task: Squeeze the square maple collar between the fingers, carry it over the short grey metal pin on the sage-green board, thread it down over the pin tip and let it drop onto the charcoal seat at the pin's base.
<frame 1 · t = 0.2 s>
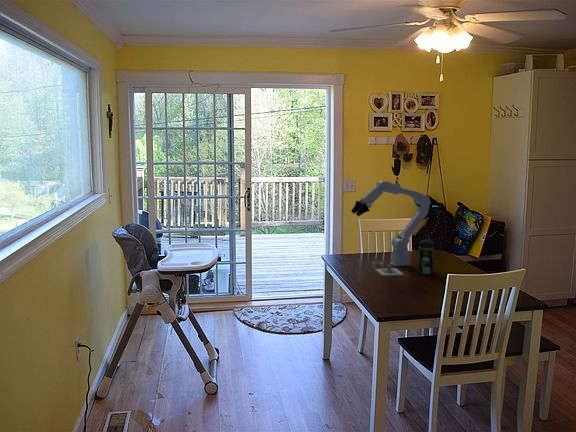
hand: (354, 213, 292), 31 cm above the table, tool tilted 45°, fingers open, 7 cm apart
pin board: (389, 273, 282), on the table
collar: (377, 267, 293), on the table
coffee jar: (425, 273, 283), on the table
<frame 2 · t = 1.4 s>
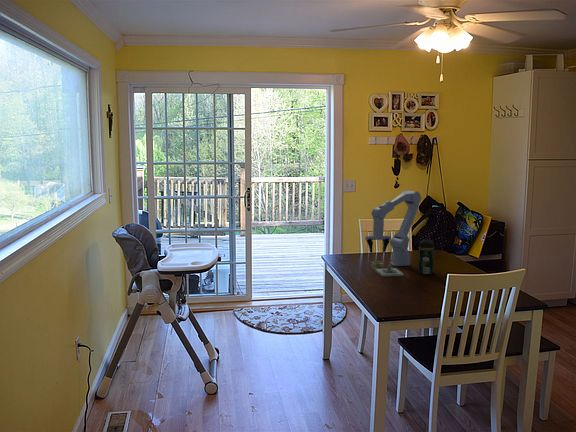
hand: (377, 252, 291), 9 cm above the table, tool pointing down, fingers open, 7 cm apart
nothing on the table moved.
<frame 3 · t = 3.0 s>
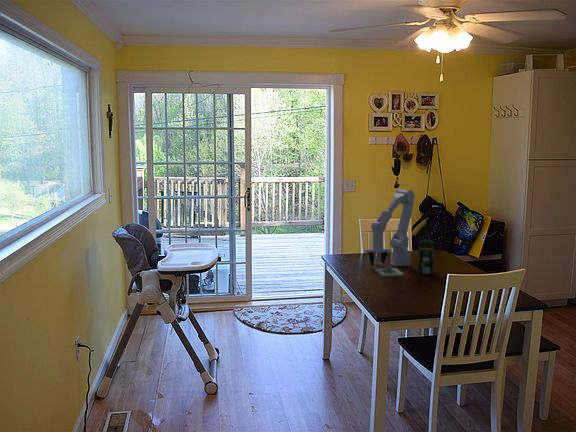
hand: (377, 265, 293), 1 cm above the table, tool pointing down, fingers closed on collar, 5 cm apart
collar: (377, 267, 293), on the table, touching gripper
everything else where it was.
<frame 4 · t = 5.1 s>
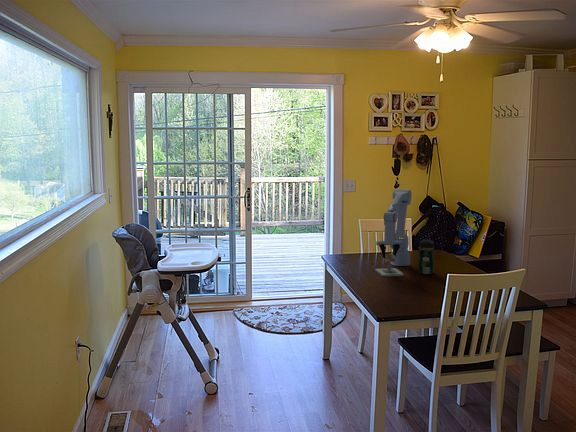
hand: (388, 257, 281), 8 cm above the table, tool pointing down, fingers closed on collar, 5 cm apart
collar: (388, 260, 281), point 7 cm above the table, touching gripper
everything else where it was.
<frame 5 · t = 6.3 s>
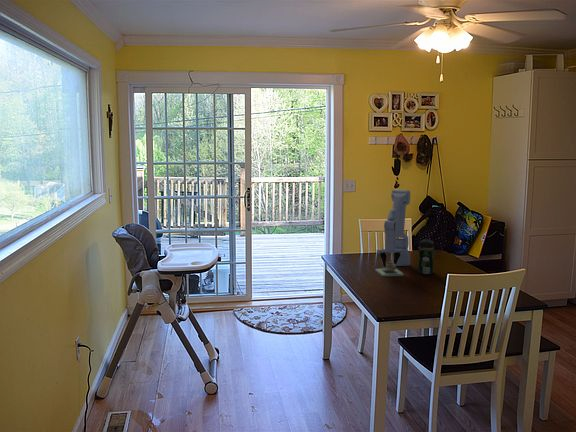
hand: (389, 266, 281), 4 cm above the table, tool pointing down, fingers closed on collar, 5 cm apart
collar: (389, 268, 281), point 2 cm above the table, touching gripper
everything else where it was.
when the fingers open (4 cm above the table, at t = 7.1 s): collar drops 1 cm, resting on pin board.
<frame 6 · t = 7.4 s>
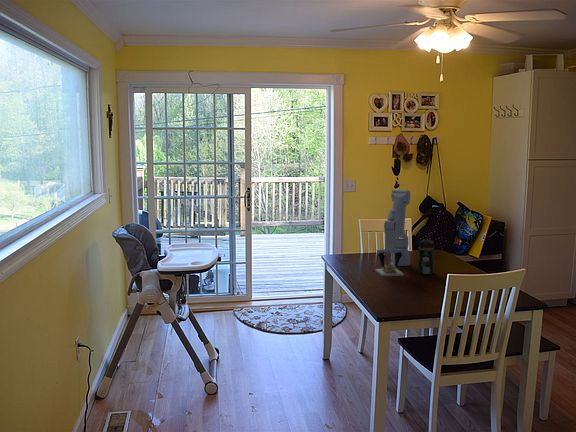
hand: (389, 266, 281), 4 cm above the table, tool pointing down, fingers open, 7 cm apart
collar: (389, 271, 282), point 1 cm above the table, touching pin board
everything else where it was.
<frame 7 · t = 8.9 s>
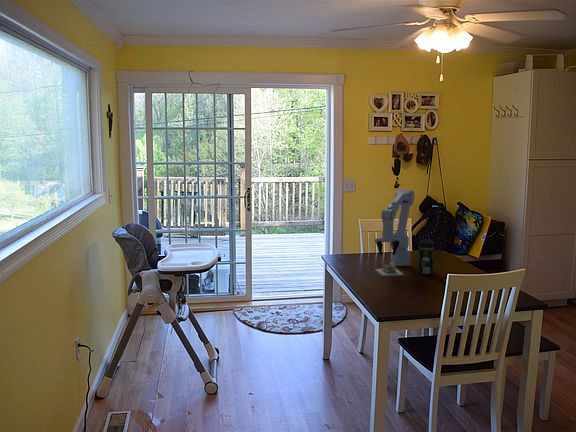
hand: (387, 254, 285), 9 cm above the table, tool pointing down, fingers open, 7 cm apart
nothing on the table moved.
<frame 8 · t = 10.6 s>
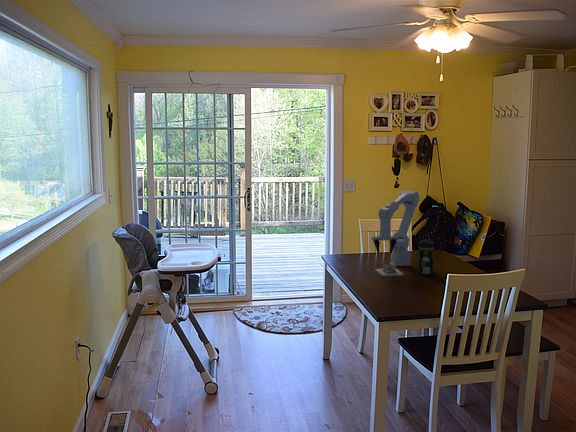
hand: (384, 252, 289), 9 cm above the table, tool pointing down, fingers open, 7 cm apart
nothing on the table moved.
at the end: collar 0.1 cm from the pin board (horizontally); collar point 1.2 cm above the table; the gripper is holding nothing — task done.
